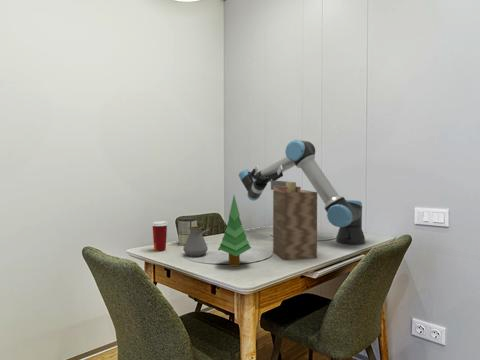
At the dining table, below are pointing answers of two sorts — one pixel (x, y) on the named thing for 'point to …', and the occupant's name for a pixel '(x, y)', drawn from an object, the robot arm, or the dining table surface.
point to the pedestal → (294, 223)
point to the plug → (290, 185)
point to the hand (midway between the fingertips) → (269, 166)
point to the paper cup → (159, 235)
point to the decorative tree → (234, 237)
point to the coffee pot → (197, 241)
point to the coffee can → (185, 228)
